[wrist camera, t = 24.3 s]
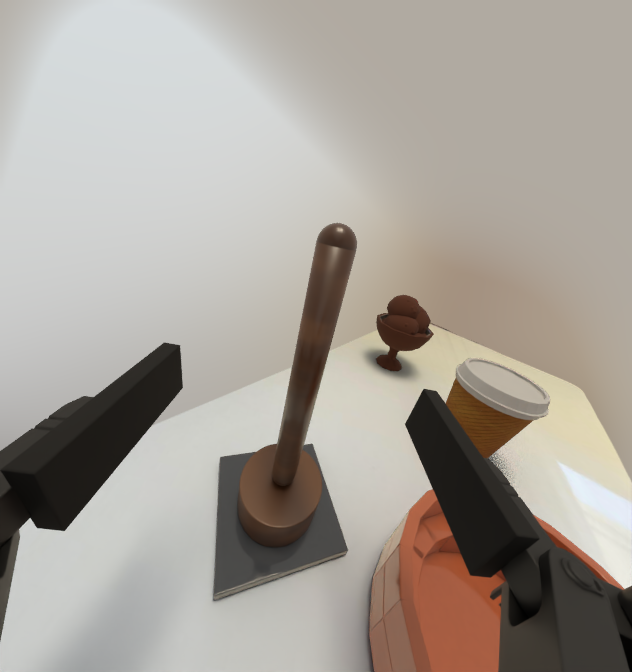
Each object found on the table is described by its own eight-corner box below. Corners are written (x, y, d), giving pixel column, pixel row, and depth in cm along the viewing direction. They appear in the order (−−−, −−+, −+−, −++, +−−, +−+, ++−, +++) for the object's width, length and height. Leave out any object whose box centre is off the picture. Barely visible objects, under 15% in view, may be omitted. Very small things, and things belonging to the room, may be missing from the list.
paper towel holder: (238, 560, 17) (282, 207, 7) (236, 468, 22) (258, 205, 12) (326, 533, 19) (452, 248, 9) (304, 457, 25) (367, 230, 15)
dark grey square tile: (213, 600, 15) (213, 596, 15) (220, 461, 24) (220, 456, 23) (345, 554, 19) (348, 550, 19) (311, 448, 27) (312, 443, 27)
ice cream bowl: (391, 384, 43) (423, 309, 36) (354, 352, 51) (375, 287, 44) (424, 375, 48) (458, 309, 42) (386, 348, 56) (409, 289, 50)
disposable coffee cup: (511, 489, 28) (581, 417, 23) (433, 467, 28) (484, 392, 23) (474, 428, 36) (519, 366, 31) (415, 412, 37) (449, 349, 32)
